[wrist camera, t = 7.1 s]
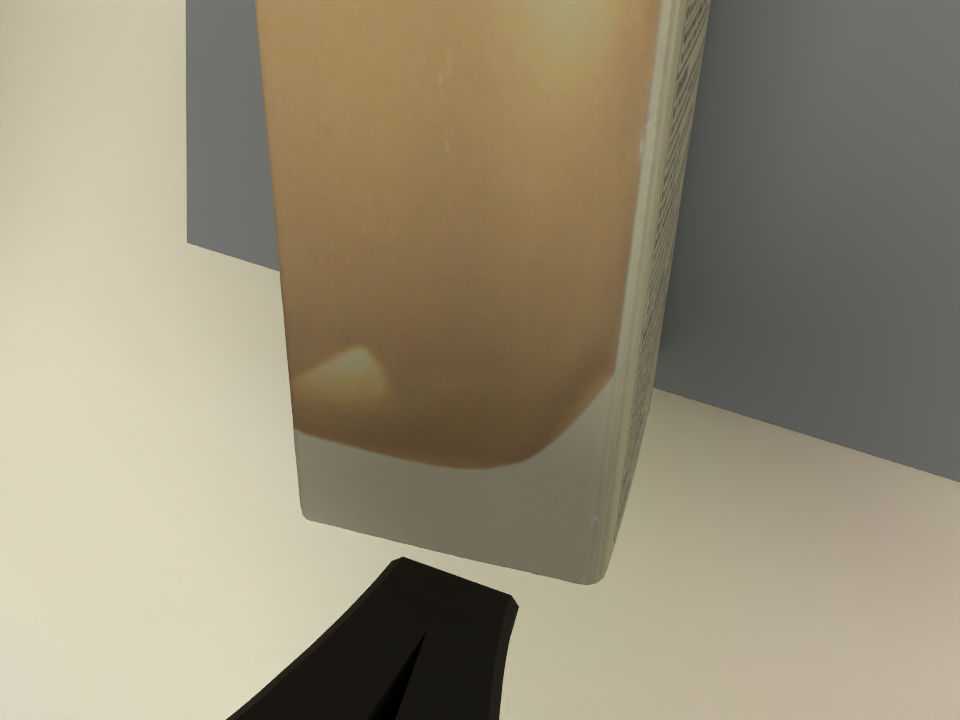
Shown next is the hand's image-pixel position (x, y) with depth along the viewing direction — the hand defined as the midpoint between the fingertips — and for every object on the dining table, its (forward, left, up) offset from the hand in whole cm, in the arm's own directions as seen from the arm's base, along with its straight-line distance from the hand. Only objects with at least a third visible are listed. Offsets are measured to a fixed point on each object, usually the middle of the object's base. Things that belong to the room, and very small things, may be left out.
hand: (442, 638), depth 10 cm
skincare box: (-1, +1, -5) cm, 5 cm away
